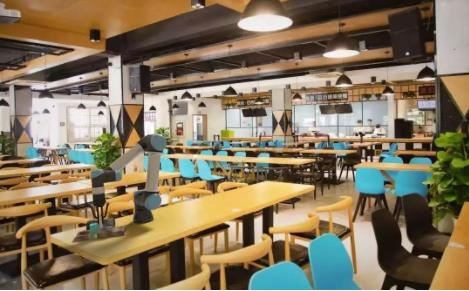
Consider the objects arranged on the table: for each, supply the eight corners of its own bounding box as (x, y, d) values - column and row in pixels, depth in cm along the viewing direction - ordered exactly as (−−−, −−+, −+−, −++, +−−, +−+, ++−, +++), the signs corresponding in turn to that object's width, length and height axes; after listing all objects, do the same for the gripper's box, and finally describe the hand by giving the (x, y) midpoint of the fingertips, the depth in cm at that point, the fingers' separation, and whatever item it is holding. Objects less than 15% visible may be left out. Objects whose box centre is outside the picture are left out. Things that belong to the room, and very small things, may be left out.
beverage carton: (87, 229, 253) (86, 219, 253) (115, 225, 258) (115, 216, 258) (86, 232, 245) (85, 222, 245) (115, 228, 251) (114, 219, 250)
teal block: (99, 230, 236) (98, 222, 236) (98, 232, 231) (97, 224, 231) (91, 231, 235) (90, 223, 235) (90, 233, 230) (89, 225, 230)
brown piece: (124, 230, 244) (123, 217, 244) (124, 235, 233) (123, 221, 232) (78, 235, 236) (77, 222, 236) (76, 241, 225) (74, 227, 224)
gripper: (109, 191, 238) (112, 226, 240) (88, 193, 235) (91, 228, 236) (108, 193, 231) (111, 228, 232) (87, 195, 228) (90, 231, 229)
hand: (101, 228), depth 234 cm, fingers closed
